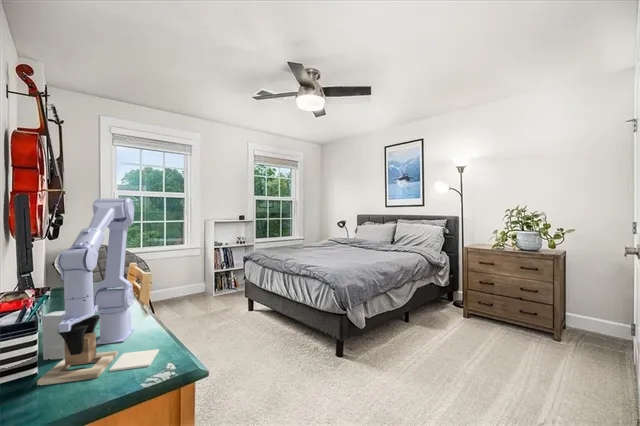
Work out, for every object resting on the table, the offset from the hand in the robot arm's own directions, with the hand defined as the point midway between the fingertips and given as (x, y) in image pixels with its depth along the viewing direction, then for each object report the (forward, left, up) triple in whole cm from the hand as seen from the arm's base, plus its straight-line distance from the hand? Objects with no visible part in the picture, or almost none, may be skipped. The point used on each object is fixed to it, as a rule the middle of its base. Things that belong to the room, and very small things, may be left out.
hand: (80, 349), depth 77 cm
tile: (-1, +12, -5) cm, 13 cm away
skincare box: (-10, -10, -5) cm, 15 cm away
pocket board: (0, 0, -5) cm, 5 cm away
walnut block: (0, 0, -3) cm, 3 cm away
